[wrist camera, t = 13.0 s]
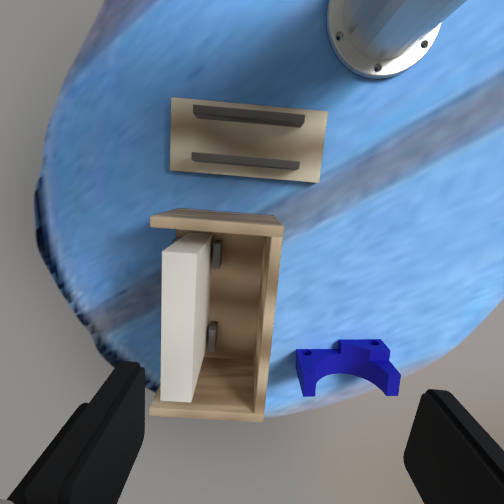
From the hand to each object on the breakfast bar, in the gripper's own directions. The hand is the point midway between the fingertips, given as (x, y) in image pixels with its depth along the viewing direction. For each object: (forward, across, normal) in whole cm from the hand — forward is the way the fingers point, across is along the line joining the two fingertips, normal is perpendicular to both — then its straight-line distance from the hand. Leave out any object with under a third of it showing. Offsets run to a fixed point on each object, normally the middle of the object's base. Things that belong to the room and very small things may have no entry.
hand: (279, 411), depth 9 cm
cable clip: (+28, -13, +16) cm, 35 cm away
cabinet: (+28, +4, +8) cm, 29 cm away
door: (+26, +7, +7) cm, 28 cm away
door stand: (+29, +3, -12) cm, 31 cm away
